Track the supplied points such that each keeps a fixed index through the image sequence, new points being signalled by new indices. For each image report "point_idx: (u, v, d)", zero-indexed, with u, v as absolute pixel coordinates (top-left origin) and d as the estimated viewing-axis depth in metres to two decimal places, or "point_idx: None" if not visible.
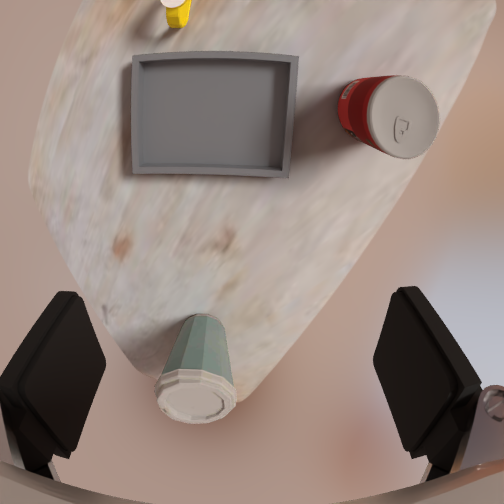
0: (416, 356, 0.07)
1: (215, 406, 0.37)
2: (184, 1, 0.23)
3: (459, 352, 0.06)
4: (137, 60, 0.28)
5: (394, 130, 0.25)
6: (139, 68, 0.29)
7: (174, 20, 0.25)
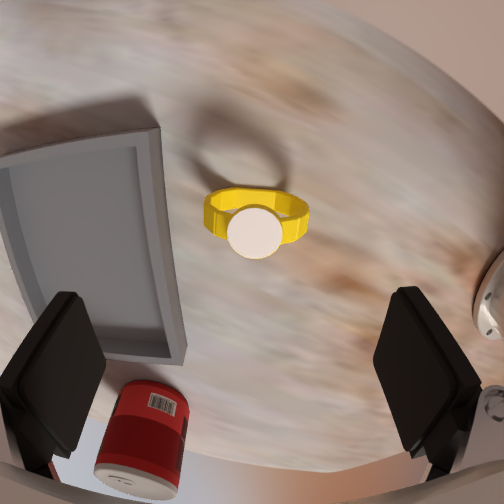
0: (416, 356, 0.07)
1: None
2: None
3: (459, 352, 0.06)
4: (138, 142, 0.17)
5: (117, 477, 0.21)
6: (125, 146, 0.17)
7: (208, 221, 0.17)
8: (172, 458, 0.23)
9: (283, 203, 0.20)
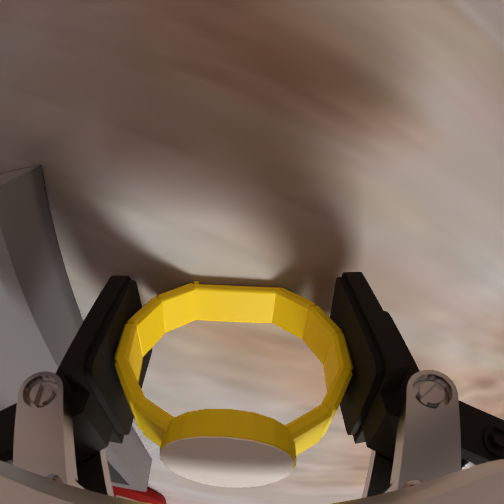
0: (352, 338, 0.07)
1: None
2: None
3: (391, 334, 0.06)
4: None
5: None
6: None
7: None
8: None
9: (291, 316, 0.10)
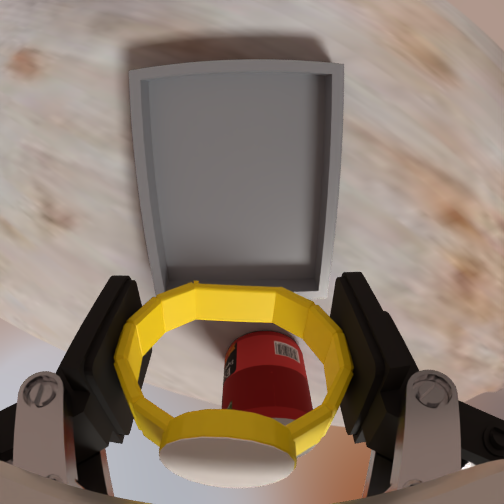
0: (352, 338, 0.07)
1: None
2: None
3: (391, 334, 0.06)
4: (334, 71, 0.18)
5: None
6: (318, 73, 0.18)
7: (126, 399, 0.07)
8: (310, 404, 0.24)
9: (291, 316, 0.10)
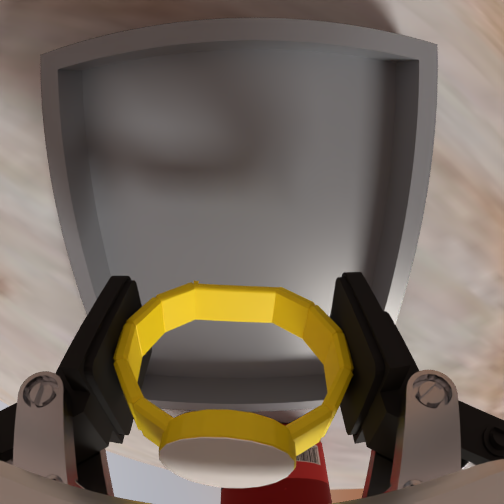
0: (352, 338, 0.07)
1: None
2: None
3: (391, 334, 0.06)
4: (422, 56, 0.08)
5: None
6: (394, 55, 0.08)
7: None
8: None
9: (291, 316, 0.10)
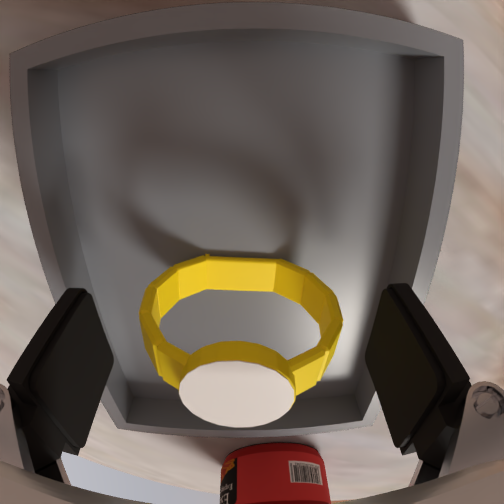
0: (405, 352, 0.07)
1: None
2: None
3: (447, 348, 0.06)
4: (447, 52, 0.07)
5: None
6: (416, 50, 0.07)
7: (148, 349, 0.08)
8: None
9: (290, 283, 0.11)
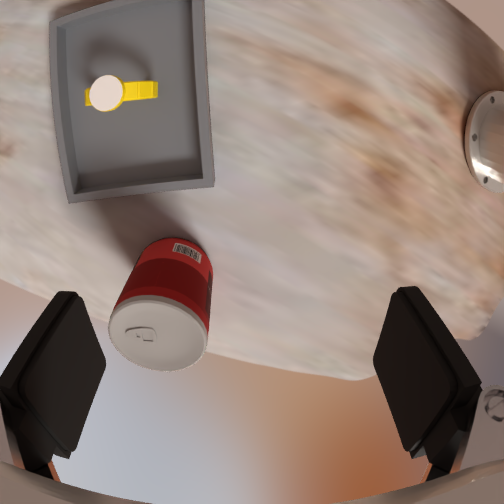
0: (416, 356, 0.07)
1: None
2: (99, 109, 0.19)
3: (459, 352, 0.06)
4: None
5: (136, 328, 0.23)
6: None
7: (85, 99, 0.20)
8: (201, 297, 0.25)
9: None
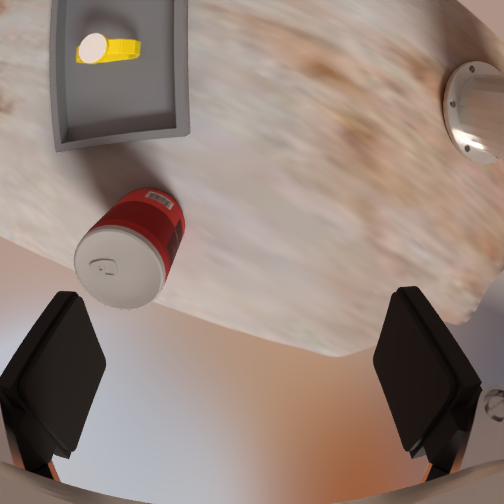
0: (416, 356, 0.07)
1: None
2: (86, 62, 0.20)
3: (459, 352, 0.06)
4: None
5: (99, 260, 0.23)
6: None
7: (76, 55, 0.21)
8: (164, 235, 0.26)
9: None
